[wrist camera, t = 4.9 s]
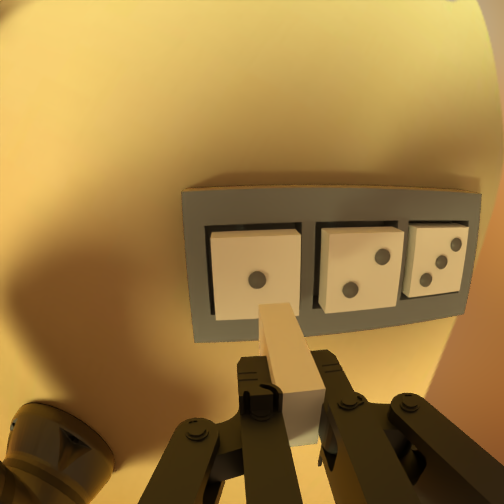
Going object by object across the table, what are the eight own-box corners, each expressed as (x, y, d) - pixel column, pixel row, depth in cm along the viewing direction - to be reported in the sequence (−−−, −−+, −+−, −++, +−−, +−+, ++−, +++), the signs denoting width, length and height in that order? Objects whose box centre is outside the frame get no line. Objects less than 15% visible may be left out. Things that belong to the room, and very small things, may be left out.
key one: (216, 308, 25) (215, 322, 23) (211, 232, 23) (210, 239, 21) (293, 304, 25) (299, 317, 23) (295, 228, 24) (301, 235, 21)
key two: (318, 302, 25) (326, 315, 23) (321, 227, 24) (330, 234, 22) (385, 296, 26) (397, 307, 24) (392, 226, 24) (405, 232, 22)
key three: (398, 288, 27) (410, 298, 25) (405, 223, 25) (418, 228, 23) (447, 283, 27) (460, 291, 25) (455, 222, 26) (470, 227, 24)
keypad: (197, 325, 28) (194, 342, 25) (186, 188, 25) (181, 191, 22) (448, 302, 30) (463, 314, 27) (462, 190, 27) (481, 193, 24)
